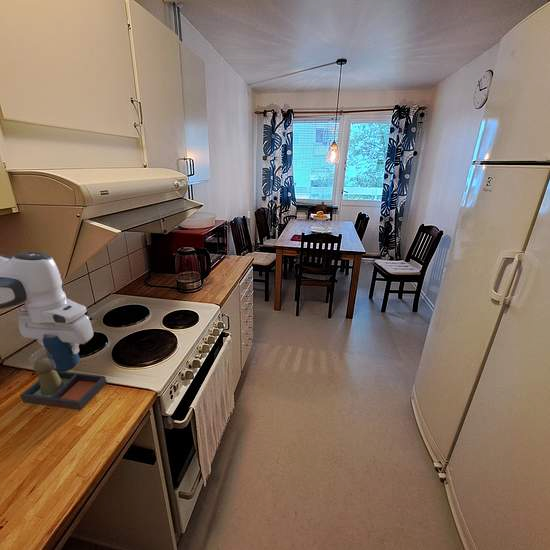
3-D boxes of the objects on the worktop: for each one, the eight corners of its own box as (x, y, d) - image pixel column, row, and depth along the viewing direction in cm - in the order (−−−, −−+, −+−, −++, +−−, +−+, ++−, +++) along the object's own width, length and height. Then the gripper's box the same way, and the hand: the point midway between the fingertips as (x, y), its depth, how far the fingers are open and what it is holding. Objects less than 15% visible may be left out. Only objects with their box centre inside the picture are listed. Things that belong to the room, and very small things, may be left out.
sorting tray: (22, 402, 88) (19, 394, 87) (54, 376, 99) (51, 369, 98) (81, 410, 86) (78, 402, 85) (107, 383, 97) (105, 376, 96)
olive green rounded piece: (37, 397, 90) (26, 369, 86) (45, 383, 95) (36, 356, 91) (59, 393, 91) (49, 365, 87) (66, 380, 97) (58, 353, 92)
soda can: (84, 357, 89) (75, 324, 84) (73, 372, 82) (63, 337, 78) (60, 359, 88) (49, 325, 83) (47, 374, 81) (34, 339, 77)
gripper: (4, 312, 76) (20, 354, 81) (73, 318, 74) (85, 362, 79) (26, 301, 82) (40, 341, 87) (91, 307, 80) (101, 348, 85)
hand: (62, 351), depth 83 cm, fingers closed on soda can, 7 cm apart
